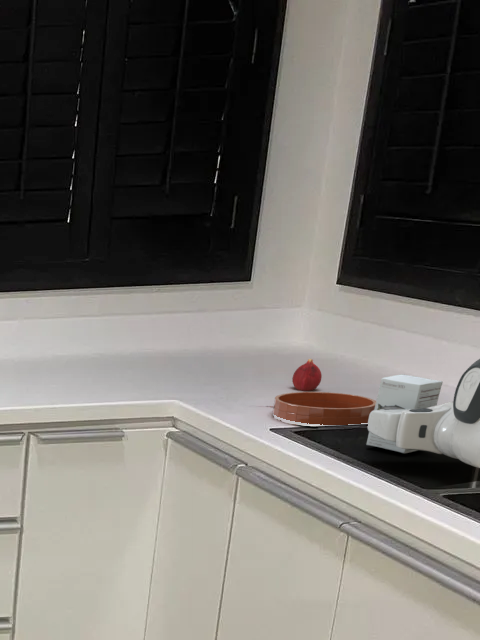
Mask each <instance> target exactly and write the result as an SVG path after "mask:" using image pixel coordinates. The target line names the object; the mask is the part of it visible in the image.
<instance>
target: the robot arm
mask: <svg viewBox="0 0 480 640" xmlns="http://www.w3.org/2000/svg"><path fill="white" fill-rule="evenodd" d="M367 431H368V433H369V432H371V433H372V434H374V435H376V436H378V437H380V438H383V439H385V440H388V441H392V442H396V446H397V447H399V448H401V449H410V450H418V451H421V452H422V451H423V452H424V451H425V452H430V453H434V454H437V455H444V456H446V457H449V458H452V459H456V460H459V461H461V463H464V464H466V465H469V466H472V467H475V468H478V469H480V358H479V359H477V360H475V361H474V362H473V363H472V364H471V365H470V366H469V367H468V368H466V370H465V371H464V372H463V373H462V374H461V376H460V378H459V380H458V383H457V385H456V388H455V391H454V395H453V401H448V402H444V403H442V404H437V406H432V407H428V408H421V409H397V410H389V409H380V410H373V411H372V412H371V413H370V415H369V419H368V426H367Z"/></svg>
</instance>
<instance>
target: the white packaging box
mask: <svg viewBox="0 0 480 640" xmlns="http://www.w3.org/2000/svg"><path fill="white" fill-rule="evenodd" d="M443 383H444V382H443V381H442V380H437V379H433V378H426V377H420V376H414V375H408V374H396V375H391V376H390V375H389V376H385V377H382V378H381V379H380V383H379V387H378V391H377V392H378V393H377V397H376V400H375V401H376V405H375V409H374V410H380V409H389V410H397V409H421V408H428V407H432V406H437V405H438V402H439V397H440V394H441V389H442V387H443ZM366 446H371V447H377V448H380V449H385V450H389V451H394V452H397V453H401V454H408V453H413V452H418V451H419V450H410V449H401V448H399V447H397V446H396V442H392V441H388V440H385V439H383V438H380V437H378V436H376V435H374V434H372V433H371V432H369V431H368V435H367V440H366Z"/></svg>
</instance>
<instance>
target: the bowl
mask: <svg viewBox="0 0 480 640" xmlns="http://www.w3.org/2000/svg"><path fill="white" fill-rule="evenodd" d="M375 405H376V400H375V399H373V398H370V397H366V396H363V395H358V394H352V393H351V394H350V393H343V392H342V393H341V392H329V391H327V392H326V391H296V392H287V393H282V394H278V395H276V396H275V397H274V400H273V407H272V408H273V409H272V415H273V414H274V415H276V416H277V417H280V418H283V419H286V420H290V421H295V422H301V423H307V424H308V423H309V424H320V425H322V424H323V425H348V424H361V423H368V419H369V415H370V413H371V412H372V411H373V410H374V409H375Z"/></svg>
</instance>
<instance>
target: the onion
mask: <svg viewBox="0 0 480 640" xmlns="http://www.w3.org/2000/svg"><path fill="white" fill-rule="evenodd" d="M313 361H314V360H313V359H312V358H308V359H307V361H306V362H305V363H303V364H301V365H300V366H299V367H297V368H296V370H294V372H293V375H292V378H291V379H292V381H291V382H292V385H293V386H294V388H295V389H296V390H298V391H301V392H313V391H314V390H315V389H317V388H318V387H319V386H320V384H321V382H322V378H323V377H322V376H323V375H322V371H321V370H320V367H318V365H316V364H315V363H314V362H313Z"/></svg>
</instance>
